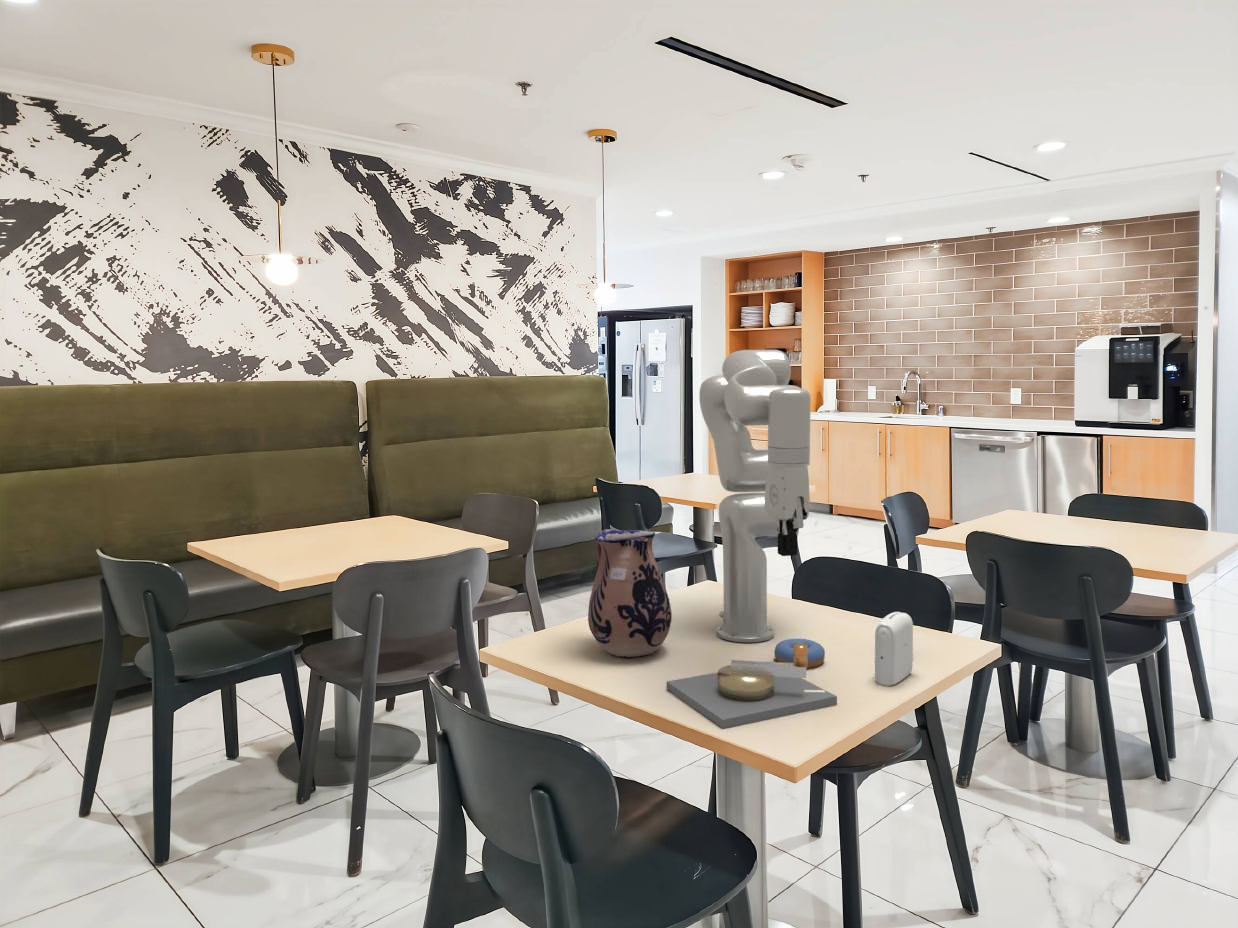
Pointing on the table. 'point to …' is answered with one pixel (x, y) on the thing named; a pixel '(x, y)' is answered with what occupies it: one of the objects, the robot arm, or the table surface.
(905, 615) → the photo printer
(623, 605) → the ceramic pitcher
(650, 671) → the table surface
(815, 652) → the doughnut
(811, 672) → the table surface
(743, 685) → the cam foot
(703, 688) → the stand
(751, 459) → the robot arm
